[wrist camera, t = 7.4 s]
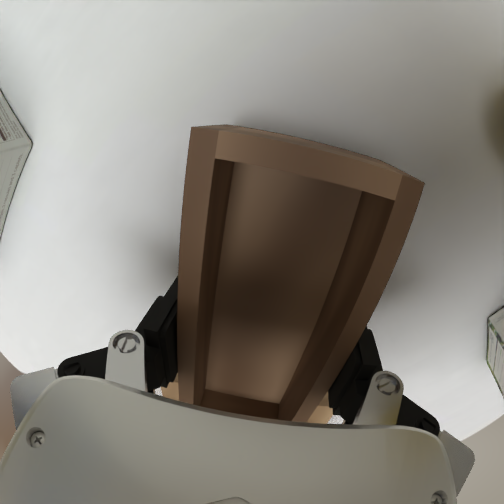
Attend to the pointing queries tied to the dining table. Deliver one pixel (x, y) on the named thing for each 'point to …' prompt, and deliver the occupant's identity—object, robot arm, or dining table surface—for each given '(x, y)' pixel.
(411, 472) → the robot arm
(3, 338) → the dining table surface
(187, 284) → the brown wooden tray
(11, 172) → the supplement box
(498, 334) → the syrup box
